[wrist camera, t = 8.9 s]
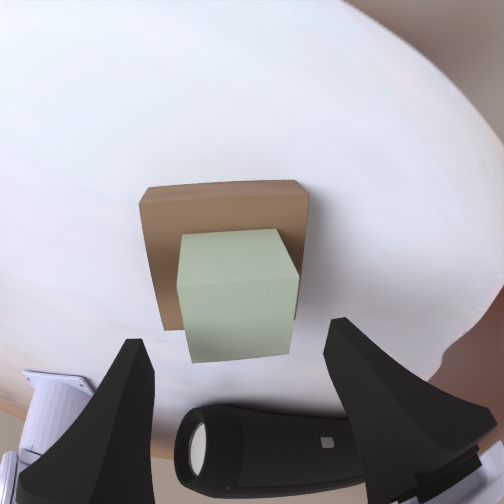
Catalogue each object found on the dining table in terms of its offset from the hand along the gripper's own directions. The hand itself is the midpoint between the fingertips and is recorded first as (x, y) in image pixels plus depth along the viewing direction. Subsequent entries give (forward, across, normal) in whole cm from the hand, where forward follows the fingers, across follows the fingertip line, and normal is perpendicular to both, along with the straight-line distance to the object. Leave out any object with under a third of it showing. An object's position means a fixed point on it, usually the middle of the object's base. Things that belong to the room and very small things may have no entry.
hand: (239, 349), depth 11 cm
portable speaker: (+8, -6, +24) cm, 26 cm away
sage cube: (+5, 0, 0) cm, 5 cm away
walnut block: (+8, 0, 0) cm, 8 cm away
